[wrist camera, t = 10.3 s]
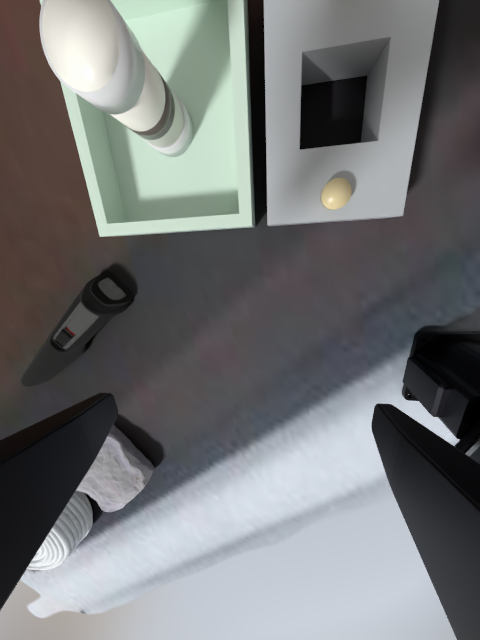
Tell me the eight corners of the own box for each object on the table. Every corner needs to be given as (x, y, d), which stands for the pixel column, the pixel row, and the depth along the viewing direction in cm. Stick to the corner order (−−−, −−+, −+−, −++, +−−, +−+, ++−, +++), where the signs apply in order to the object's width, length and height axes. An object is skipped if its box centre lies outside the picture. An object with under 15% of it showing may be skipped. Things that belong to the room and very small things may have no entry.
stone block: (95, 394, 29) (54, 446, 31) (69, 418, 24) (22, 479, 26) (172, 444, 31) (130, 491, 33) (161, 476, 26) (112, 529, 28)
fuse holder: (414, -26, 12) (467, -120, 9) (380, 218, 17) (408, 215, 13) (264, 5, 14) (262, -69, 10) (268, 226, 18) (267, 224, 14)
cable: (16, 429, 31) (-40, 472, 25) (121, 501, 34) (90, 555, 28) (-22, 482, 37) (-74, 527, 31) (70, 540, 40) (36, 591, 34)
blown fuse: (190, 95, 15) (109, -37, 8) (196, 154, 16) (131, 88, 9) (144, 103, 16) (26, -15, 8) (153, 159, 17) (57, 100, 9)
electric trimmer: (34, 357, 26) (4, 373, 23) (109, 267, 21) (82, 273, 18) (61, 379, 27) (35, 397, 24) (139, 298, 22) (118, 308, 19)
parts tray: (247, -16, 13) (240, -81, 11) (255, 227, 18) (252, 226, 15) (77, 21, 15) (33, -26, 12) (124, 235, 19) (99, 236, 17)
